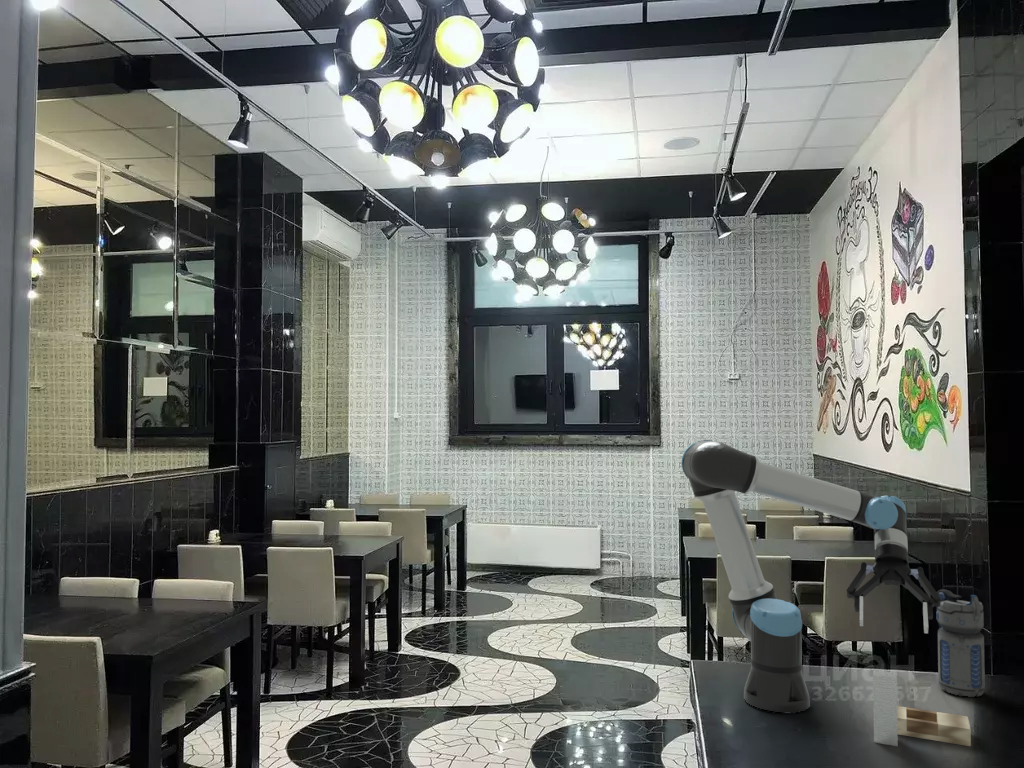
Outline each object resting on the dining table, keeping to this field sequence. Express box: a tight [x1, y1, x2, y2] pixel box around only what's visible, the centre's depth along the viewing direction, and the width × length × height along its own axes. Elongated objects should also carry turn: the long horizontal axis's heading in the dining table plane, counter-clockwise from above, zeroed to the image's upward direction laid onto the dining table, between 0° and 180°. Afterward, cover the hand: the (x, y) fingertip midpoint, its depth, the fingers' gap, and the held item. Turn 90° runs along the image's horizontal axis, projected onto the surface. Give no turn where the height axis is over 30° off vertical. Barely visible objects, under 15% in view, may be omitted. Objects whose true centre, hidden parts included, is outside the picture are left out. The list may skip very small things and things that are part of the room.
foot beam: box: [897, 705, 972, 747], centre depth 172 cm, size 18×8×4 cm, turn 64°
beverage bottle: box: [935, 588, 986, 698], centre depth 199 cm, size 10×13×25 cm
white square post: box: [872, 669, 899, 747], centre depth 168 cm, size 4×4×14 cm
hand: (893, 626), depth 183 cm, fingers open, 13 cm apart
